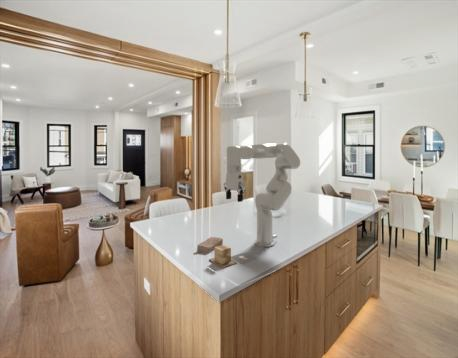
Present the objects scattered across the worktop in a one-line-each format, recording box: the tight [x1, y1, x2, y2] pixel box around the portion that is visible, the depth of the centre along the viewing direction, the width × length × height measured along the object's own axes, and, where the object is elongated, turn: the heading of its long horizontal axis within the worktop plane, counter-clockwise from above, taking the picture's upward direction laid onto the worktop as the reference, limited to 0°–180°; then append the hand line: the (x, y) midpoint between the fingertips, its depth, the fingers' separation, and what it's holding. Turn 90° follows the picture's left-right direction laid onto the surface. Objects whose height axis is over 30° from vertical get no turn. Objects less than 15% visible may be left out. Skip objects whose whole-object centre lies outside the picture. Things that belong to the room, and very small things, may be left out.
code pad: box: [231, 251, 259, 265], centre depth 136 cm, size 11×11×1 cm
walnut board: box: [208, 257, 238, 269], centre depth 131 cm, size 9×12×1 cm
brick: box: [196, 236, 224, 254], centre depth 152 cm, size 17×8×5 cm, turn 152°
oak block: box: [213, 244, 232, 264], centre depth 131 cm, size 6×6×7 cm
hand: (234, 200), depth 141 cm, fingers open, 9 cm apart
